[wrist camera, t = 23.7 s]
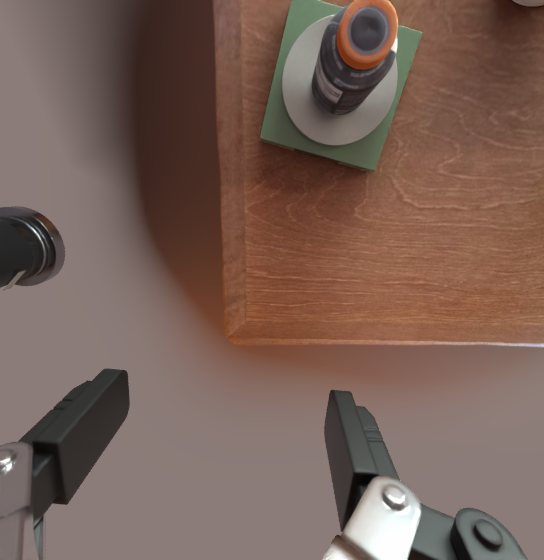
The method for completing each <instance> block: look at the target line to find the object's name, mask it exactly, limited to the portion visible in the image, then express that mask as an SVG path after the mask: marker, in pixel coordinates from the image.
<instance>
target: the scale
mask: <svg viewBox="0 0 544 560" xmlns="http://www.w3.org/2000/svg"><path fill="white" fill-rule="evenodd" d="M341 9H342V7H339V6H335V5H332V4H329V3H326V2H322V1H319V0H291V3H290V7H289V11H288V16H287V20H286V24H285V29H284V33H283V37H282V42H281V46H280V50H279V55H278V59H277V63H276V68H275V72H274V76H273V81H272V85H271V89H270V94H269V98H268V102H267V107H266V111H265V115H264V120H263V124H262V128H261V133H260V137H259V138H260V140H261V142H265V143H268V144H272V145H275V146H279V147H282V148H286V149H289V150H293V151H295V152H298V153H302V154H305V155H309V156H312V157H316V158H319V159H323V160H326V161H330V162H334V163H338V164H342V165H345V166H349V167H352V168H356V169H359V170H363V171H366V172H372V171H375V169H376V166H377V163H378V160H379V157H380V154H381V151H382V148H383V146H384V143H385V140H386V137H387V134H388V131H389V128H390V125H391V122H392V120H393V117H394V114H395V111H396V108H397V105H398V102H399V99H400V96H401V94H402V91H403V88H404V85H405V82H406V79H407V76H408V73H409V70H410V67H411V65H412V62H413V59H414V56H415V53H416V50H417V47H418V44H419V41H420V39H421V36H422V32H419V31H416V30H413V29H409V28H406V27H403V26H400V25H398V32H397V52H396V56H395V60H394V62H393V65H392V67H391V69H390V70H389V72H388V73H387V75H386V76H385V77H384V78H383V79H382V81H381V82H380V83H379V84H378V85H377V86H376V87H375V89H374V90H373V91H372V92H371V93H370V94H369V95H368V97H367V98H366V99H365V100H364V101H363V103H362V104H361V105H360V106H359V107H358V108H356V109H355V110H354V111H352V112H350V113H348V114H345V115H332V114H329V113H327V112H325V111H324V110H322V109H321V108H320V107H319V106H318V104H317V103H316V101H315V99H314V96H313V93H312V77H313V73H314V69H315V65H316V61H317V57H318V53H319V49H320V46H321V41H322V37H323V34H324V32H325V29H326V27H327V25H328V23H329V22H330V20H331V19H332V18H333V17H334V15H335V14H336V13H337V12H338V11H340V10H341Z"/></svg>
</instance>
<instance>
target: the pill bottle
mask: <svg viewBox="0 0 544 560" xmlns="http://www.w3.org/2000/svg"><path fill="white" fill-rule="evenodd" d="M397 32H398V18H397V14H396V12H395V9H394V7H393V6H392V4H391V3H390V2H389V1H388V0H355V1H354V2H353V3H352V4H349V5H347V6H346V7H344V8H342V9H341V10H340V11H338V12H337V13H336V14H335V15H334V17H333V18H332V19H331V20H330V22H329V23H328V25H327V27H326V29H325V32H324V34H323V37H322V41H321V46H320V49H319V53H318V57H317V61H316V65H315V69H314V73H313V77H312V93H313V96H314V99H315V101H316V103H317V104H318V106H319V107H320V108H321V109H322V110H324V111H325V112H327V113H329V114H332V115H345V114H348V113H350V112H352V111H354V110H355V109H356V108H358V107H359V106H360V105H361V104H362V103H363V101H364V100H365V99H366V98H367V97H368V95H369V94H370V93H371V92H372V91H373V90H374V89H375V87H376V86H377V85H378V84H379V83H380V82H381V81H382V79H383V78H384V77H385V76H386V75H387V73H388V72H389V70H390V69H391V67H392V65H393V62H394V60H395V56H396V52H397Z"/></svg>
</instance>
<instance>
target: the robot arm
mask: <svg viewBox="0 0 544 560" xmlns="http://www.w3.org/2000/svg"><path fill="white" fill-rule="evenodd" d="M47 258H48V252H47V247H46V244H45V241H44V239H43V237H42V236H41V234H40V233H39V232H38V231H37V229H36V228H35V227H33V226H32V225H31V224H30V223H28V222H27V221H25V220H23V219H20V218H17V217H13V216H3V217H0V287H3V286H6V285H7V286H6V287H5V289H9V288H11V287H12V286H13V285H14V284H15V283H16V282H18V281H21V280H24V279H29V278H32V277H34V276H36V275H38V274H39V273H40V272H42V270H43V269H44V268H45V266H46V263H47ZM5 289H4V290H5ZM129 404H130V403H129V387H128V374H127V371H125V370H116V369H104V370H102V371H101V372H100V373H99V374H98V375H97V376H96V377H95V378H94V379H93V380H92V381H86V382H85V383H83V384H81V385H79V386H77V387H76V388H74V389H73V390H72V391H70V392H69V393H68V395H66V396H65V397H64V398H63V400H62V401H60V402H59V403H58V404H57V405H56V406H55V407H54V409H53V410H51V411H49V412H48V413H47V414H46V415H45V416H44V417H43V418H42V419H41V420H40V421H39V422H38V423H37V424H36V425H35V426H34V427H33V428H32V429H31V430H30V431H28V432H27V433H26V434H25V435H24V436H23V437H22V438H21V439H20V440H19V441H18V442H11V443H7V444H3V445H1V446H0V560H45V535H46V534H45V533H46V532H45V531H46V525H45V524H46V519H45V512H46V511H47V510H48V508H49V507H50V505H51V504H52V503H55V504H66V505H67V504H68V503H69V501H70V500H71V498H72V497H73V495H74V494H75V492H76V491H77V489H78V488H79V487H80V485H81V484H82V482H83V481H84V479H85V478H86V476H87V475H88V473H89V472H90V470H91V469H92V467H93V466H94V464H95V463H96V462H97V460H98V459H99V457H100V456H101V454H102V453H103V451H104V450H105V448H106V447H107V445H108V444H109V442H110V441H111V439H112V438H113V437H114V435H115V434H116V432H117V430H118V429H119V428H120V426H121V425H122V423H123V422H124V420H125V419H126V416H127V414H128V410H129ZM324 429H325V430H324V431H325V432H324V433H325V442H326V448H327V454H328V460H329V465H330V471H331V476H332V482H333V488H334V494H335V499H336V504H337V511H338V517H339V522H340V527H341V532H343V533H342V534H341V536H339V535H336V536H335V538H334V539H333V541H332V542H331V544H330V546H329V547H328V549H327V551H326V553H325V555H324V556H323V558H322V560H527V558H526V556H525V554H524V553H523V551H522V550H521V548H520V546H519V545H518V543H517V541H516V540H515V539H514V537H513V536H512V534H511V533H510V532H509V531H508V530H507V529H506V528H505V527H504V526H503V525H502V524H501V523H500V522H499V521H498V520H496V519H495V518H493V517H492V516H490V515H489V514H487V513H485V512H483V511H480V510H478V509H474V508H463V509H461V510H460V511H458V513H457V514H456V517H455V518H454V517H451V516H449V515H446V514H444V513H441V512H439V511H436V510H434V509H431V508H429V507H427V506H425V505H423V504H421V503H420V502H419V500H418V498H417V496H416V495H415V493H414V492H413V491H412V490H411V489H410V488H409V487H408V486H407V485H406V484H405V483H403V482H402V481H400V479H399V477H398V475H397V472H396V470H395V467H394V465H393V463H392V460H391V458H390V455H389V453H388V450H387V448H386V446H385V443H384V441H383V438H382V436H381V433H380V431H379V428H378V426H377V423H376V421H375V418H374V417H373V416H372V414H371V413H370V412H369V411H368V410H367V409H366V408H365V407H361V406H356V405H355V402H354V399H353V396H352V393H351V392H349V391H338V390H331V391H330V395H329V401H328V407H327V413H326V418H325V427H324Z"/></svg>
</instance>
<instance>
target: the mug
mask: <svg viewBox="0 0 544 560" xmlns="http://www.w3.org/2000/svg"><path fill="white" fill-rule="evenodd" d="M512 1H514V2H516V3H518V4H520V5H524V6H532V7H534V6H542V5H544V0H512Z"/></svg>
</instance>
